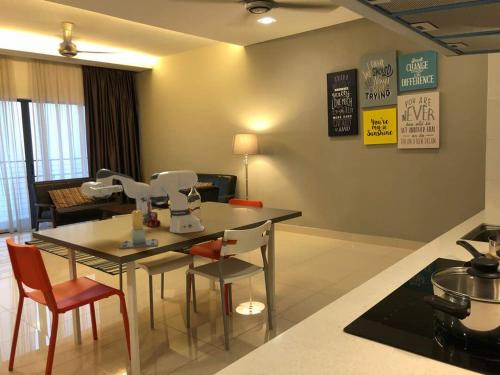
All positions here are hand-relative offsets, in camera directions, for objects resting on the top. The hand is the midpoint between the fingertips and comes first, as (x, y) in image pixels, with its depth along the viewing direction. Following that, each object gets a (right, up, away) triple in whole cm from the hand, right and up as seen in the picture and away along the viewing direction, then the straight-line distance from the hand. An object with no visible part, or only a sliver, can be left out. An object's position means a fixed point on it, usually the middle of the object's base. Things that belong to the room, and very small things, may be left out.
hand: (114, 190), depth 243 cm
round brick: (+17, -22, -12) cm, 30 cm away
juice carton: (+2, -23, +62) cm, 66 cm away
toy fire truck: (+13, -25, +41) cm, 50 cm away
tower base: (+18, -31, -11) cm, 37 cm away
